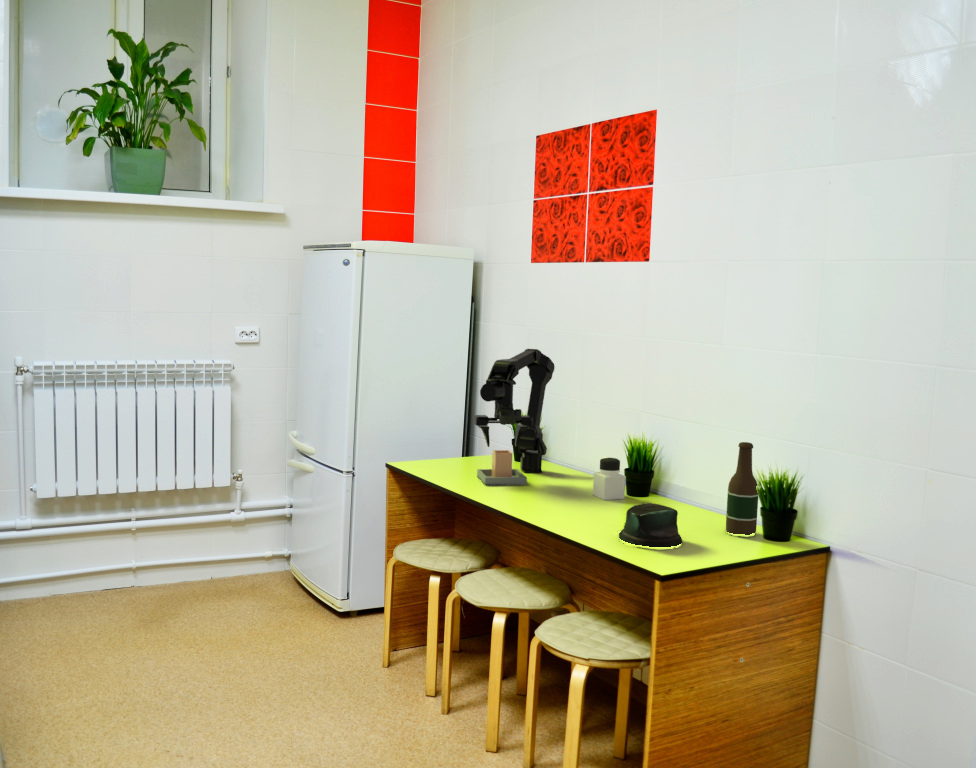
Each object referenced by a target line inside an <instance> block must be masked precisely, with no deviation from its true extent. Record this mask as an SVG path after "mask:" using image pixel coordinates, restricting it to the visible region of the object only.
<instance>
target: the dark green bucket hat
mask: <svg viewBox="0 0 976 768" xmlns="http://www.w3.org/2000/svg"><path fill="white" fill-rule="evenodd" d="M678 513H679V511H678V510H677V509H675V508H673V507H671V506H667V505H663V504H658V503H653V502H646V503H644V502H642V503H641V504H634V505H632V506H630V507H629V508H628V509H627V510H626V513H625V514H626V515H625V523H624V524H623V529H621V530H620V531H621V532H620V533H619V535H618V537H619V538H620V539H621V540H623V541H625V542H628V543H631V544H635V545H642V546H649V547H671V546H677V545H679V544H681V543H682V544H683V539H682V536H681V535H680V533H679V527H678V515H679V514H678Z"/></svg>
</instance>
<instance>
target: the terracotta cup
mask: <svg viewBox="0 0 976 768" xmlns="http://www.w3.org/2000/svg"><path fill="white" fill-rule="evenodd" d="M491 469H492V477H512V469H513V452H511V451H510V450H508V449H505V450H503V449H499V450H498V449H496V450H494V449H493V450H492V453H491Z"/></svg>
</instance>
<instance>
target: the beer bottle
mask: <svg viewBox="0 0 976 768" xmlns="http://www.w3.org/2000/svg"><path fill="white" fill-rule="evenodd" d="M738 443H739V444H738V447H739V449H738V455H737V466H736V470H735V473H734V474H733V476H731V478H730V480H729V483H728V487H727V498H726V499H727V500H726V501H727V502H726V513H725V514H726V517H725V518H726V519H725V531H726V530H727V532H729V533H733V534H745V535H750V534H752V533H755V532H756V533H757V524H758V523H757V522H758V509H759V508H758V507H759V505H758V504H759V492H758V493H757V490H756V486H757V485H758V482H757V480H756V478H755V476H754V474H753V473H754V472H753V448H754V444H753V443H752V442H747V441H742V442H738ZM727 532H726V533H727Z"/></svg>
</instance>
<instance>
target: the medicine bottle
mask: <svg viewBox="0 0 976 768" xmlns="http://www.w3.org/2000/svg"><path fill="white" fill-rule="evenodd" d="M620 468H621V460H620V459H618V458H616V457H602V458H600V460H599V471H597V472H593V484H592V496H595V497H596V498H598V499H600V500H603V501H613V500H624V499H625V489H626V475H624V474H620V472H621V471H620V470H621V469H620Z"/></svg>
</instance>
